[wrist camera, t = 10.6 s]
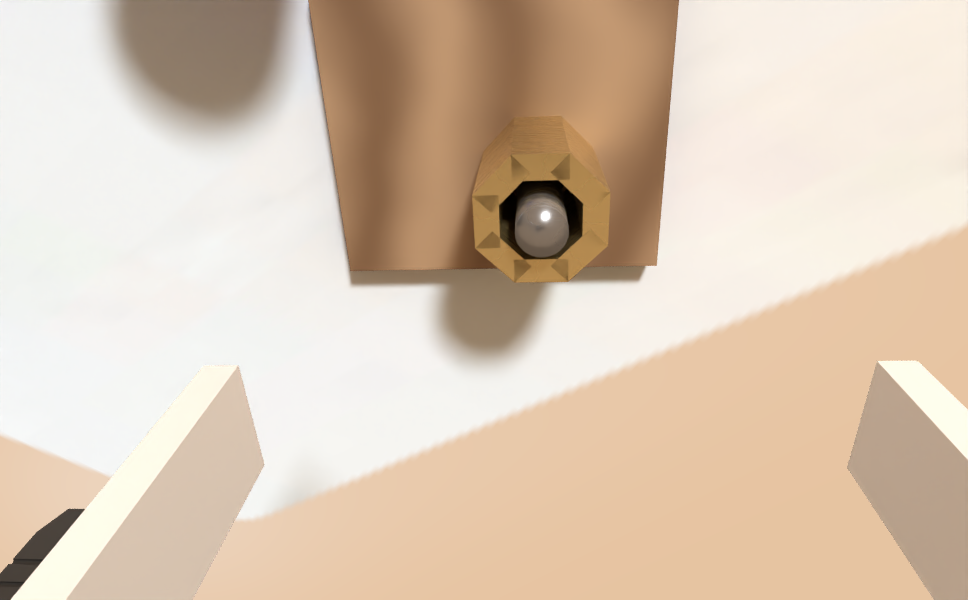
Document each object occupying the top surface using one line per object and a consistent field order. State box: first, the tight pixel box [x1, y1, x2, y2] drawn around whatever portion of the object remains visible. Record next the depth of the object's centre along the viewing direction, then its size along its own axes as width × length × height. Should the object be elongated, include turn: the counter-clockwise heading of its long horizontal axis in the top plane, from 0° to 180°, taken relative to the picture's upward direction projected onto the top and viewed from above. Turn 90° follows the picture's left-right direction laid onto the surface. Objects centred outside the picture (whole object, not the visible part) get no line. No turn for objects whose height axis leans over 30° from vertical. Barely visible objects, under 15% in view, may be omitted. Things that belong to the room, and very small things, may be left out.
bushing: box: [472, 116, 610, 283], centre depth 27 cm, size 5×5×7 cm
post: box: [515, 180, 569, 257], centre depth 27 cm, size 3×3×8 cm
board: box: [308, 0, 679, 271], centre depth 30 cm, size 16×14×2 cm
